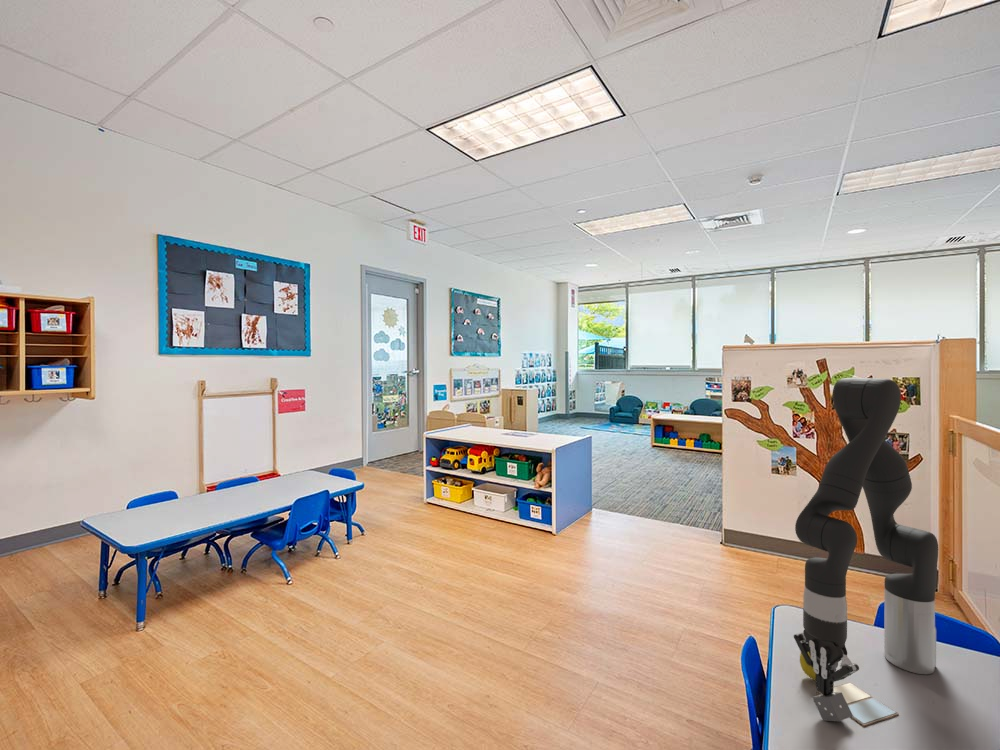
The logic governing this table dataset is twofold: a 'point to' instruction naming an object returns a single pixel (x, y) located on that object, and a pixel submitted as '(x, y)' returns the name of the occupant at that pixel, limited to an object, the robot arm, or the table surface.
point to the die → (832, 706)
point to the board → (864, 705)
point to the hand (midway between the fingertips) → (824, 692)
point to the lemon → (807, 667)
